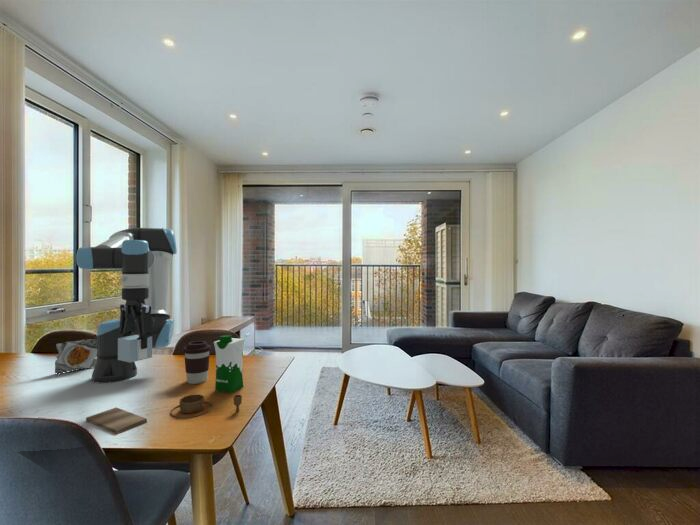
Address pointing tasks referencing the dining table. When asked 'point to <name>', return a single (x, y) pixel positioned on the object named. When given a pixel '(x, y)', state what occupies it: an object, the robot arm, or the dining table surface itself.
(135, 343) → the cube
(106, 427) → the board
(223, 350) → the milk carton
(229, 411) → the dining table surface
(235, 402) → the place setting
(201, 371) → the coffee cup
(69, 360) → the meal
